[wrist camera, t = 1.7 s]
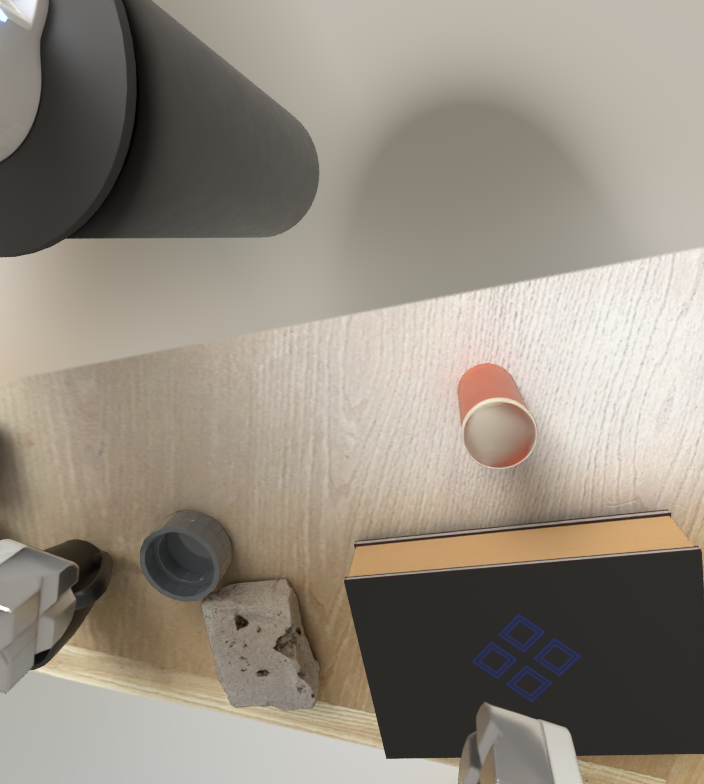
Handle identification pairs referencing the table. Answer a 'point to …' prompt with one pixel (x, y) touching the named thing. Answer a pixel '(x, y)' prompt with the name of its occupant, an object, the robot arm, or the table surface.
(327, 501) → the table surface
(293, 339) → the table surface
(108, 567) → the mug
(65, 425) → the table surface
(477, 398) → the canister
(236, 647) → the stone
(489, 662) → the book
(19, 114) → the robot arm
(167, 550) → the bowl
